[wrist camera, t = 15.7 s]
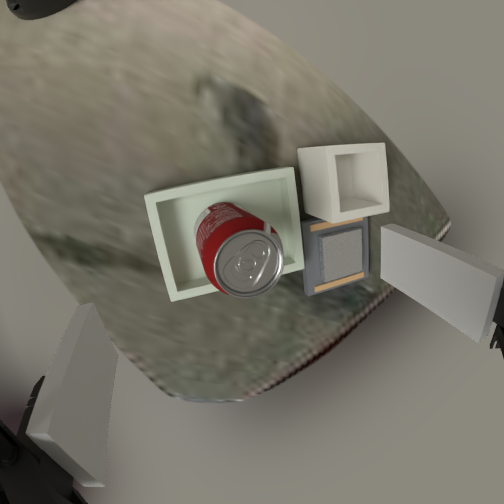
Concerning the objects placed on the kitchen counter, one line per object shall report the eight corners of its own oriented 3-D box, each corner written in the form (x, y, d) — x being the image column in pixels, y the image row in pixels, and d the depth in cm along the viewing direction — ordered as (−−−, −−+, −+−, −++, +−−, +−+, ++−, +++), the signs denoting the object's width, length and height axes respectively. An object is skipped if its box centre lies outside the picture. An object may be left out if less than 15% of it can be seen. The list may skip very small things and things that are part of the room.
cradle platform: (318, 236, 35) (322, 238, 35) (357, 227, 37) (361, 228, 36) (321, 279, 37) (324, 282, 37) (358, 268, 39) (362, 270, 38)
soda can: (181, 238, 32) (187, 278, 21) (217, 189, 31) (243, 202, 20) (228, 269, 34) (256, 319, 23) (262, 223, 34) (308, 254, 23)
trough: (146, 192, 30) (144, 195, 27) (283, 166, 33) (293, 167, 30) (170, 290, 34) (171, 301, 31) (294, 260, 37) (304, 268, 34)
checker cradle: (297, 221, 36) (302, 223, 34) (362, 208, 38) (368, 210, 36) (304, 292, 39) (308, 297, 38) (363, 274, 41) (369, 277, 40)
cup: (296, 148, 33) (325, 145, 26) (350, 144, 34) (384, 142, 28) (304, 212, 36) (332, 223, 29) (356, 202, 37) (389, 211, 31)
